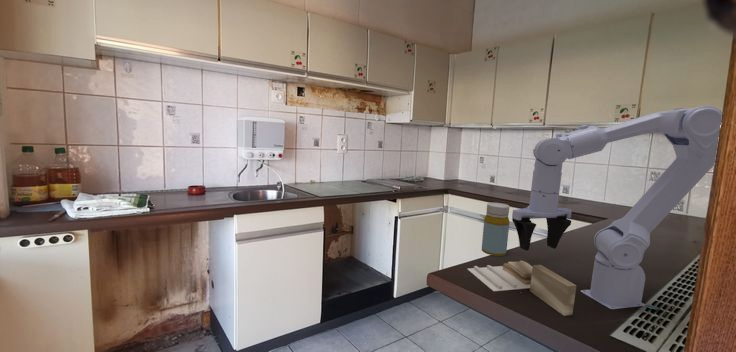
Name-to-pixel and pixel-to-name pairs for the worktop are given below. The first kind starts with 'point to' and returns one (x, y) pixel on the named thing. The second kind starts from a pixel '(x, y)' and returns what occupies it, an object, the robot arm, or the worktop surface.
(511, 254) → the worktop surface
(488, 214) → the bottle
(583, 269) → the worktop surface
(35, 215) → the worktop surface
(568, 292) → the birch panel
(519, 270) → the offcut stack
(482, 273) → the board
